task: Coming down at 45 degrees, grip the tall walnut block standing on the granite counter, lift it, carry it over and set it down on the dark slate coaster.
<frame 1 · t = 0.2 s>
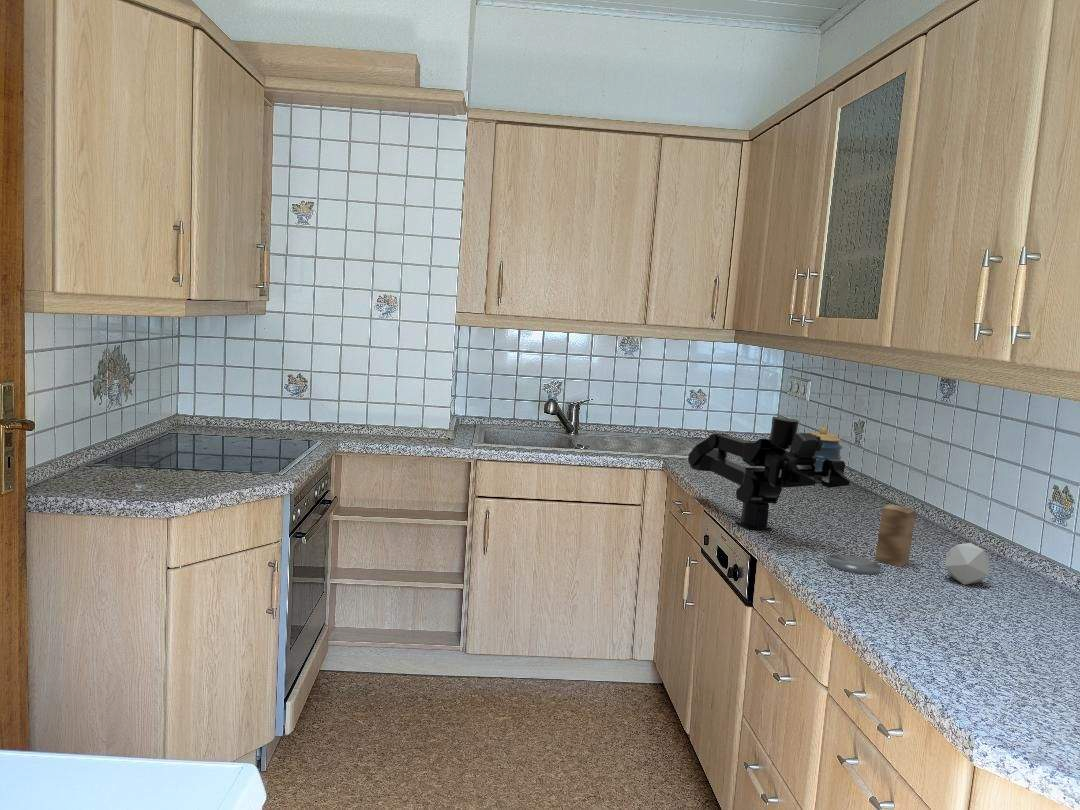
hand: (831, 483, 187), 17 cm above the countertop, tool horizontal, fingers open, 9 cm apart
slate coaster: (852, 566, 185), on the countertop
die: (964, 582, 182), on the countertop
canister: (816, 480, 286), on the countertop
walnut block: (891, 561, 192), on the countertop
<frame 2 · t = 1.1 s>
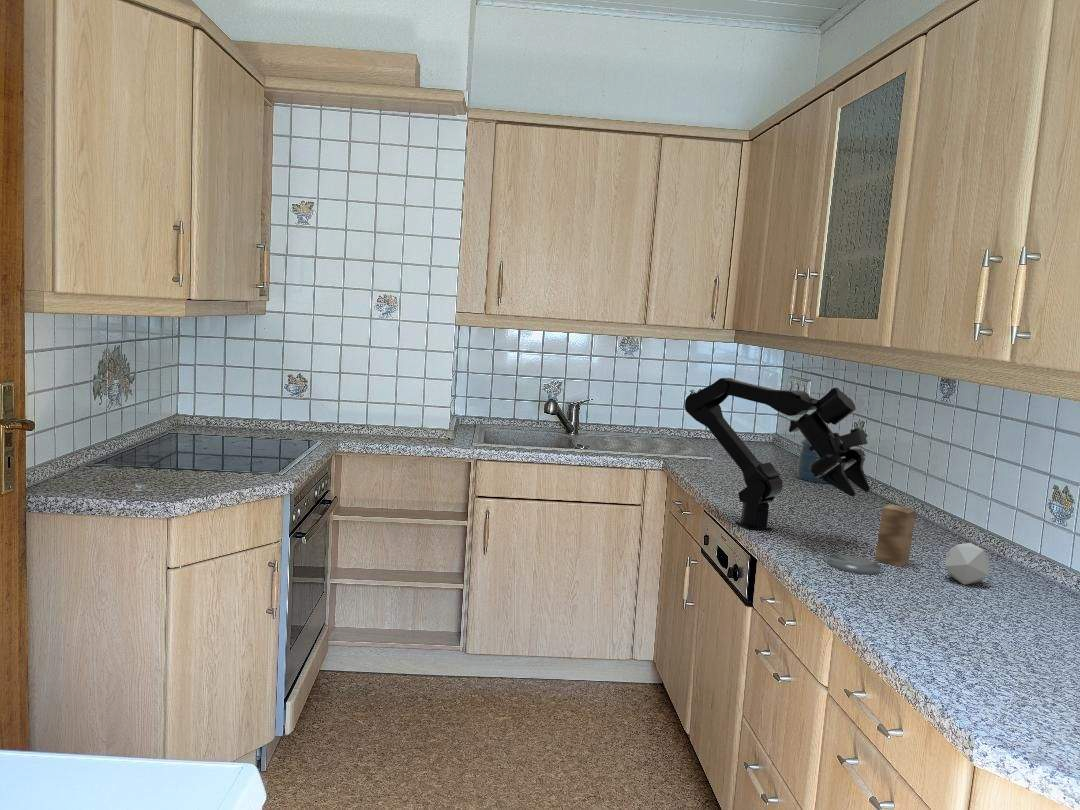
hand: (861, 493, 196), 14 cm above the countertop, tool tilted 45°, fingers open, 9 cm apart
nothing on the countertop moved.
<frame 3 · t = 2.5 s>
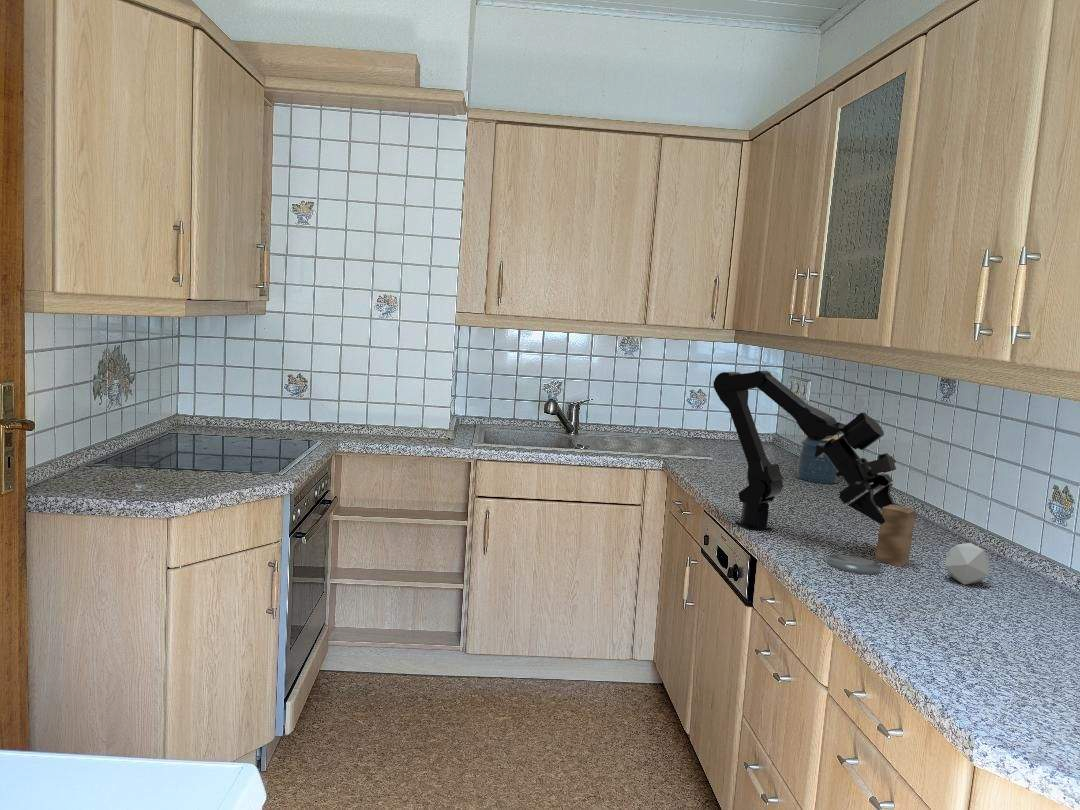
hand: (890, 520, 192), 9 cm above the countertop, tool tilted 45°, fingers open, 9 cm apart
nothing on the countertop moved.
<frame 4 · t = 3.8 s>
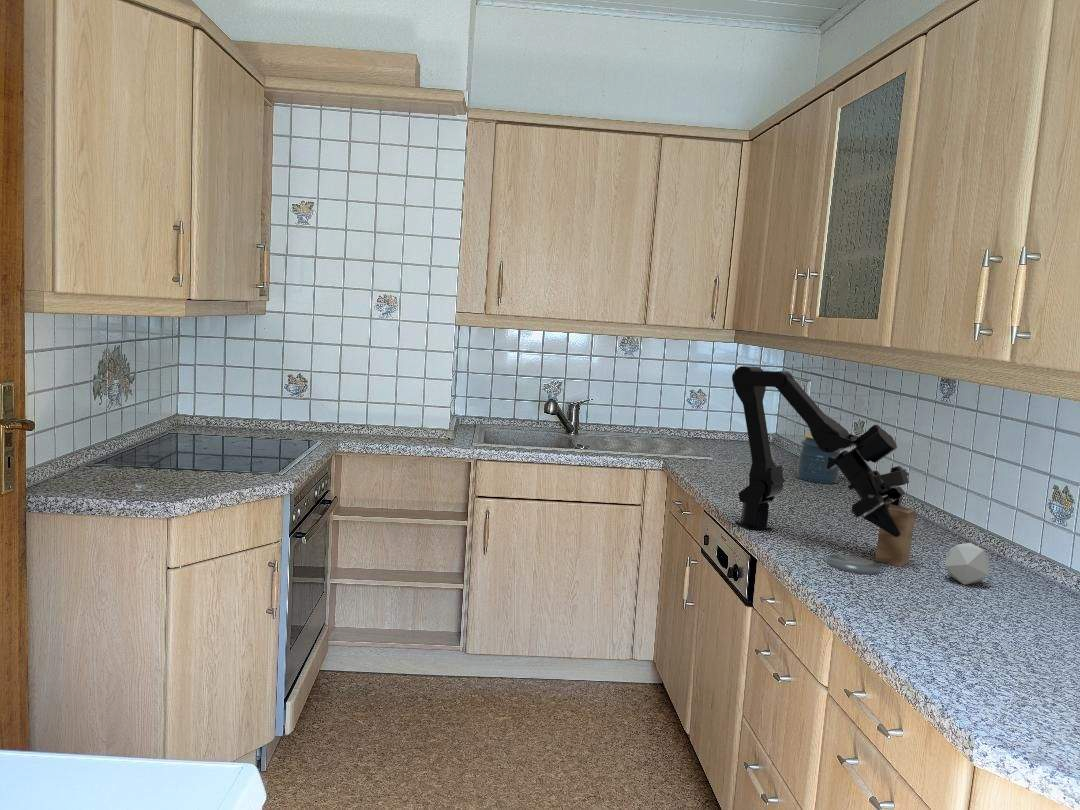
hand: (902, 534, 190), 7 cm above the countertop, tool tilted 45°, fingers closed on walnut block, 5 cm apart
walnut block: (891, 561, 192), on the countertop, touching gripper
everything else where it was.
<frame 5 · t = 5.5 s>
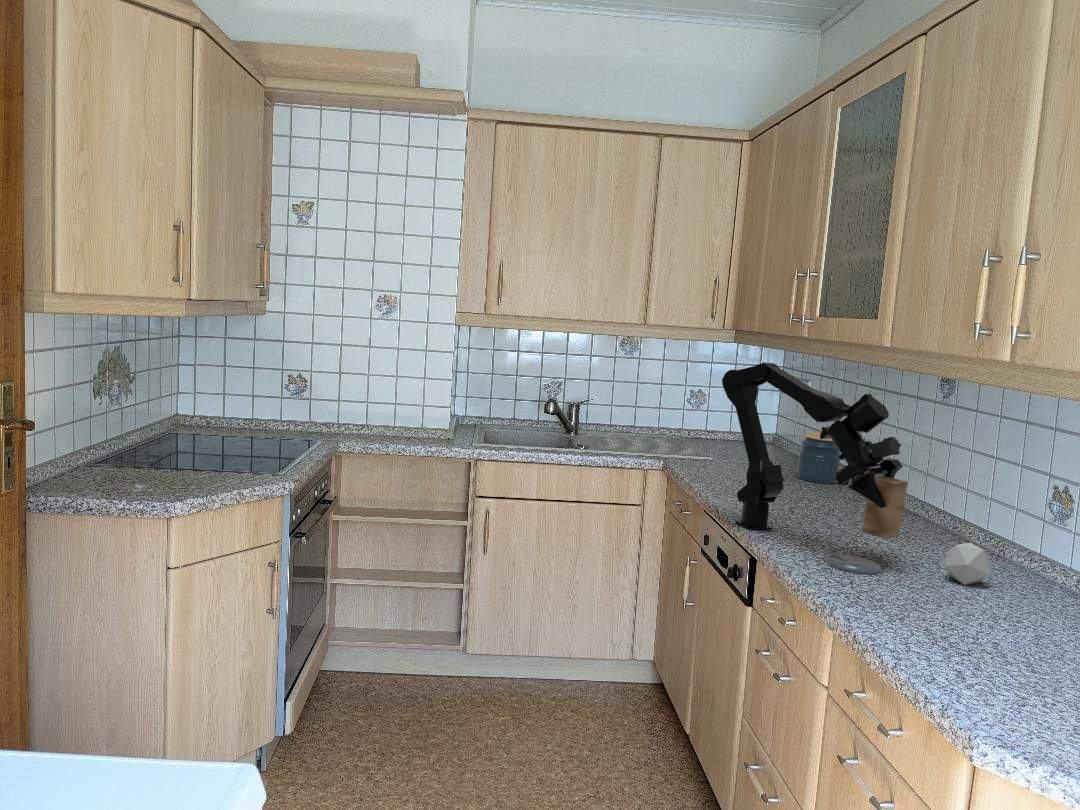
hand: (890, 505, 186), 13 cm above the countertop, tool tilted 45°, fingers closed on walnut block, 5 cm apart
walnut block: (880, 534, 188), point 7 cm above the countertop, touching gripper
everything else where it was.
when the fingers open (8 cm above the countertop, at t = 7.5 s): walnut block drops 1 cm, resting on slate coaster.
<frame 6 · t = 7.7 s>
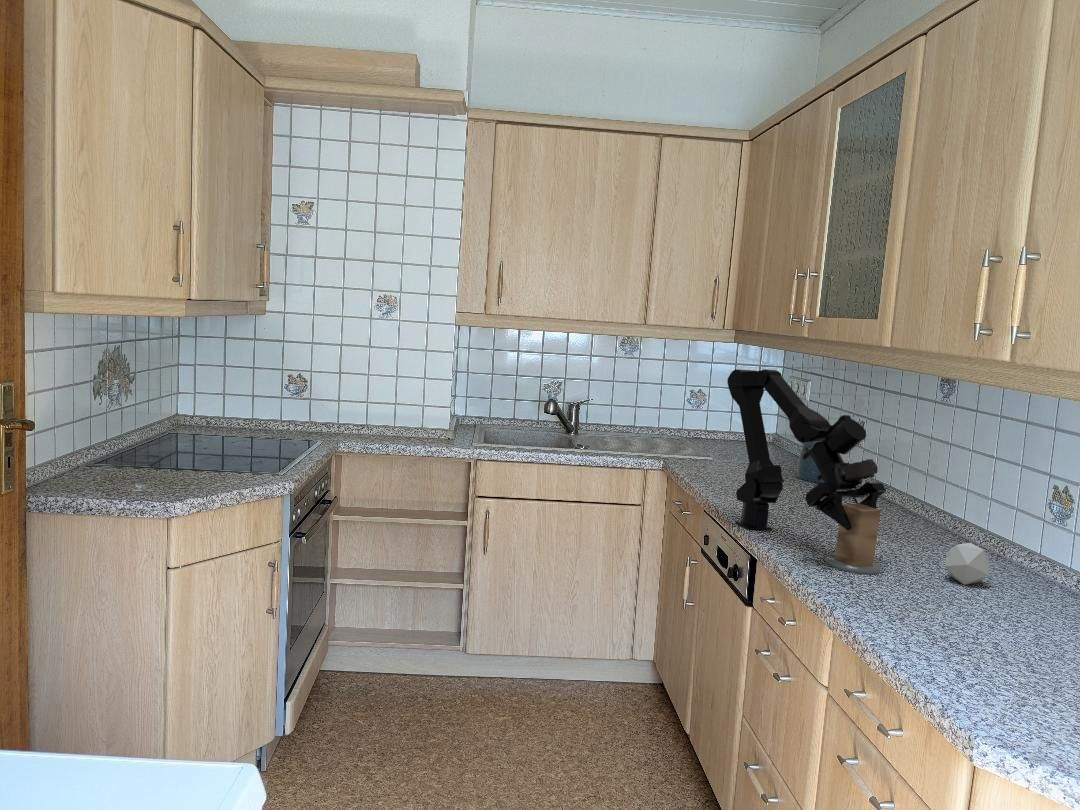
hand: (863, 528, 183), 9 cm above the countertop, tool tilted 45°, fingers open, 8 cm apart
walnut block: (853, 562, 185), point 1 cm above the countertop, touching slate coaster
everything else where it was.
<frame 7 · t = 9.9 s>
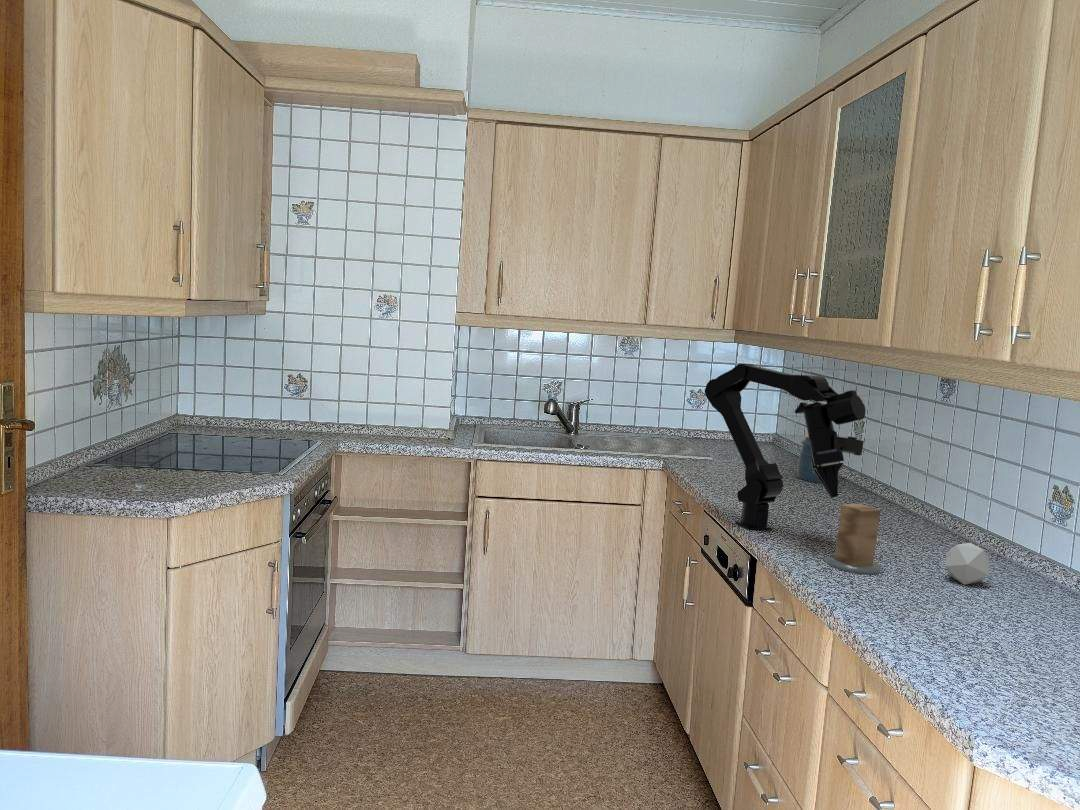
hand: (834, 497, 196), 12 cm above the countertop, tool tilted 20°, fingers open, 9 cm apart
nothing on the countertop moved.
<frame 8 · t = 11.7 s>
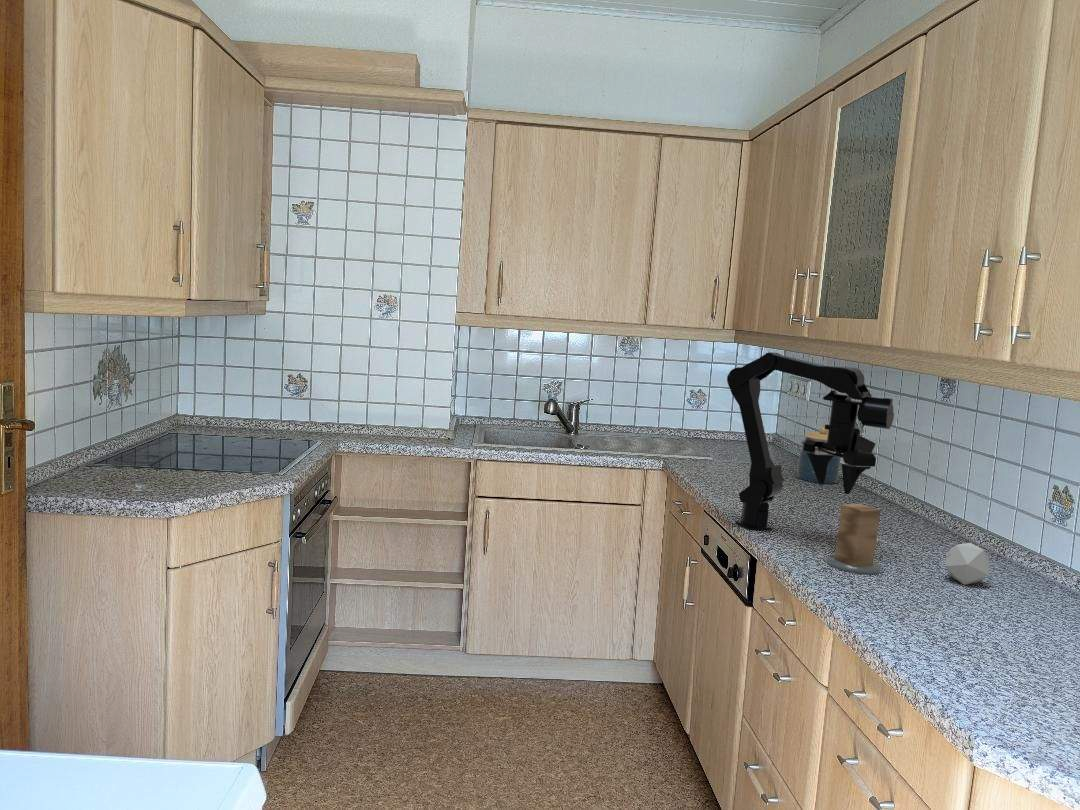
hand: (833, 489, 201), 13 cm above the countertop, tool pointing down, fingers open, 9 cm apart
nothing on the countertop moved.
at the end: walnut block 0.0 cm from the slate coaster (horizontally); walnut block tilted 0°; the gripper is holding nothing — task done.
